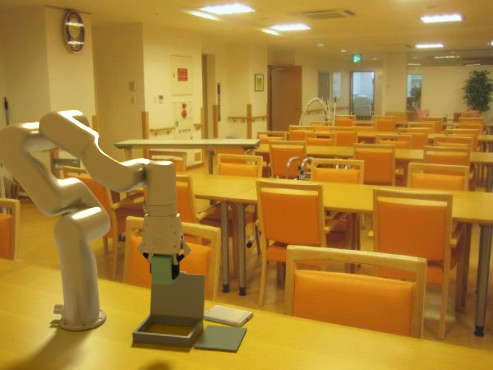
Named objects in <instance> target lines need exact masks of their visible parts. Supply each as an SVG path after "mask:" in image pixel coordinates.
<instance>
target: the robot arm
mask: <svg viewBox="0 0 493 370" xmlns="http://www.w3.org/2000/svg"><path fill="white" fill-rule="evenodd" d="M102 147H103V137H102V135H101V134H100V133H99V132H98V131H95V130H94V129H91V128H90V121H89V119H88V117H87V116H86V114H84V113H83V112H81V111H79V110H76V109H64V110H63V109H62V110H52V111H50V112H47V113H45V114H43V116H42V117H41V118H40V119H39V120H37V121H35V120H34V121H25V122H17V123H12V124H9V125H6V126H4V127H2V128H1V129H0V163H1V165H2V166H3V167H4V169H6V171H7V172H8V173H9V174H10V175H11V176H12V177H13V178H14V179H15V180H16V182H18V184H19V185H20V186H21V188H22V189H23V190H24V191H25V193H26V194H27V196H28V197H29V199H31V201H32V202H33V203H34V205H35V206H36V208H37V209H38V210H39V211H40V212H41V213H42V214H43V215H45V216H46V217H56V216H59V215H63V214H65V213H68V214H65V215H63V216H62V217H61V218H59V219H58V220H57V221H56V223H55V225H54V227H53V232H52V233H53V239H54V242H55V245H56V248H57V252H58V257H59V258H58V260H59V266H60V267H59V268H60V273H61V274H60V275H61V286H62V294H63V295H62V297H63V304H60V303H56V304H55V305H54V306H53V314H54V315H60V316H61V317H60V319H59V326H60V327H61V328H62V329H64V330H67V331H73V332H75V331H76V332H77V331H86V330H90V329H93V328H96V327H99V326H100V325H101V324H103V323H104V322H106V319H107V313H106V312H105V311H104V310H103V309H101V305H100V291H99V279H98V268H97V259H96V255H95V253H94V251H93V249H92V248H91V243H92V242H93V241H96V240H98V239H100V238H102V237H104V236H105V235H106V234H107V233H108V232H109V231H110V229H111V226H112V225H111V223H112V222H111V218H110V215H109V213H108V212H107V209H106V208H105V207H104V206H103V204H102V203H101V202H100V200H99V199H98V198H97V197H96V195H95V194H94V192H92V190H91V189H90V188H89V186H87V184H86V183H85V182H83V181H82V180H81V179H78V178H77V177H73V176H71V177H64V178H60V179H59V178H57V177H56V176H55V175H54V174H53V173H52V172H51V170H50V168H48V167H47V165H46V164H45V163H44V162H43V161H41V160H40V159H38V158H36V157H34V155H32V154H31V153H38V152H43V151H47V150H52V149H55V148H59V149H61V150H63V151H65V153H68V154H69V155H71V156H72V157H74V158H76V159H78V160H79V161H81V164H82V168H84V170H85V172H86V173H87V174H88V176H89V177H90V178H91V179H93V180H94V181H95V182H97V183H98V184H100V185H101V186H104V187H105V188H107V189H108V190H110V191H113V192H116V193H119V194H124V193H129V192H133V191H134V190H138V189H140V188H145V187H146V190H145V191H146V203H143V204H142V207H141V208H142V209H143V210H145V211H146V214H144V217H143V221H142V234H141V242H140V244H139V245H138V246H137V248H136V251H138V252H139V253H140V254H141V255H142V256H143V257H144V258H145V259H146V261H147V263H148V264H149V274H151V257H152V256H153V255H154V254H161V255H171V257H172V261H173V265H172V279H173V280H175V279H176V278H177V277H178V275H179V274H180V271H181V269H180V267H181V266H180V264H181V263H180V262H181V261H183V259H184V258H186V257H187V256H188V255H190V254H191V253H192V251H193V250H192V249H191V247H190V246H189V245H188V244H187V242H186V241H185V238H184V227H183V223H182V222H183V221H182V219H181V214H180V213H178V195H177V193H178V192H177V189H178V188H177V170H176V169H177V168H176V164H175V163H174V162H173V161H170V160H152V159H148V158H142V157H141V158H140V157H139V158H133V159H128V160H125V161H121V162H119V161H118V160H115V159H114V158H113V157H110V155H107V154H106V153H105V152H103V151H102V150H101V149H102ZM69 212H70V213H69ZM182 250H183V252H182V253H180V252H181V251H182Z"/></svg>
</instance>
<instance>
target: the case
mask: <svg viewBox="0 0 493 370" xmlns="http://www.w3.org/2000/svg"><path fill="white" fill-rule="evenodd" d="M153 324H154V325H164V326H165V325H167V326H178V327H187V328H188V327H189V328H192V329H191V331H190V332H189V333H188V335H176V334H165V333H154V332H146V331H147V330H148V329H149V327H151V326H152V325H153ZM203 328H204V319H203V318H197V317H184V316H172V315H159V314H150V313H149V314H148V315H147V316H146V317H145V319H144V320H142V322H141V323H140V324H139V325H138V326H137V327H136V328H135V329H134V330H133V331H132V333H131V334H132V335H131V336H132V343H141V344H154V345H163V346H175V347H184V348H191V346H192V345H193V344H194V342H195V340H196V339H197V337H198V336H199V334H200V333H201V331H202V330H203Z"/></svg>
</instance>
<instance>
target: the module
mask: <svg viewBox="0 0 493 370" xmlns="http://www.w3.org/2000/svg"><path fill="white" fill-rule="evenodd" d="M172 265H173V261H172V257H171V255H161V254H154V255H153V256H152V257H151V273H150V274H151V277H150V278H151V282H152V284H165V285H170V284H171V283H172V282H173V281H174V280H173V279H172Z"/></svg>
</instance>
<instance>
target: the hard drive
mask: <svg viewBox="0 0 493 370" xmlns="http://www.w3.org/2000/svg"><path fill="white" fill-rule="evenodd" d="M253 316H254V312H252V311H248V310H244V309H243V310H242V309H239V308H233V307H228V306H224V305H218V304H215V305H213V306H212V307H211V308H209V309H208V310H207V311H204V318H203V320H207V321H211V322H217V323H221V324H224V325H225V324H227V325H229V326H233V327H240V328H242V326H243V325H244V324H246V323H247V321H249V319H251V318H252V317H253Z"/></svg>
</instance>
